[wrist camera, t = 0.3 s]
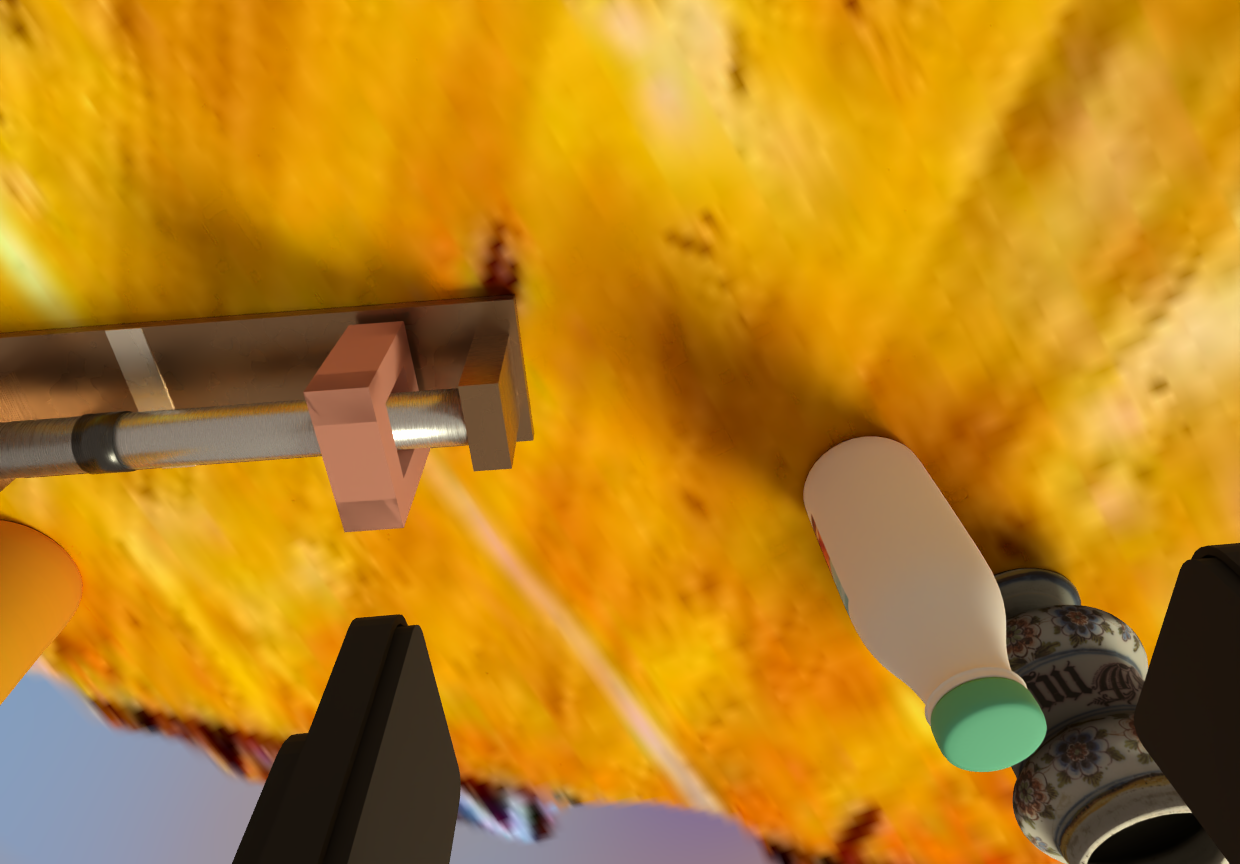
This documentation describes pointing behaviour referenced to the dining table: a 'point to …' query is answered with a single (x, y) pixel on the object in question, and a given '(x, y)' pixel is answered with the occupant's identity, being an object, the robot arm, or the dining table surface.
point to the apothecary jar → (1090, 735)
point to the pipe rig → (250, 388)
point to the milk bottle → (922, 599)
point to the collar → (366, 426)
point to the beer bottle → (32, 598)
